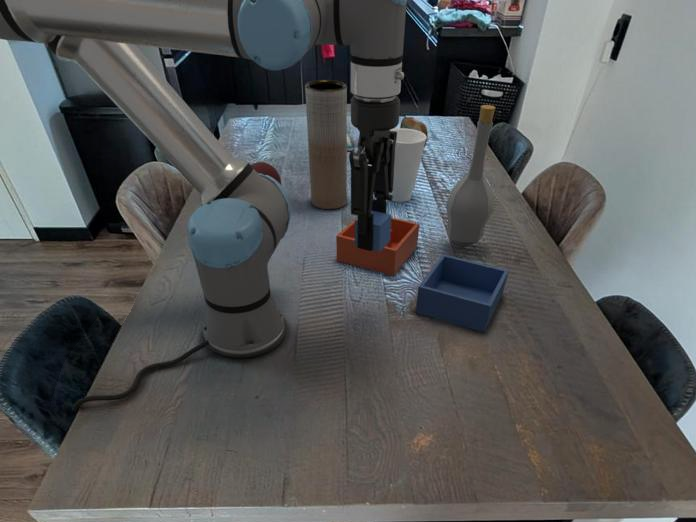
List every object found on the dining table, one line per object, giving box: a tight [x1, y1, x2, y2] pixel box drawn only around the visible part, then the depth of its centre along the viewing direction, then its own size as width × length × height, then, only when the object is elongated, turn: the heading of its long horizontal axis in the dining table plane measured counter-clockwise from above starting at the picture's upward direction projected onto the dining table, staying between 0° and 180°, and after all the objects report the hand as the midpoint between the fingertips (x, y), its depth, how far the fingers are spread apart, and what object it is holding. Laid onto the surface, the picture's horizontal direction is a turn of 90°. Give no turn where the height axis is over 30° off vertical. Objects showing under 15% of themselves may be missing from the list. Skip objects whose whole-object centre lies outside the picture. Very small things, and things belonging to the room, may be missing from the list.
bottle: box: [445, 104, 496, 248], centre depth 106 cm, size 11×11×30 cm
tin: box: [399, 116, 429, 149], centre depth 162 cm, size 15×3×8 cm, turn 25°
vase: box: [304, 79, 348, 210], centre depth 123 cm, size 10×10×28 cm
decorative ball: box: [250, 161, 282, 186], centre depth 129 cm, size 10×10×10 cm
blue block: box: [355, 210, 392, 252], centre depth 87 cm, size 5×5×5 cm
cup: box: [389, 127, 428, 203], centre depth 131 cm, size 12×12×16 cm
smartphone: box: [347, 133, 354, 152], centre depth 165 cm, size 7×1×15 cm
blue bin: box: [414, 253, 510, 333], centre depth 98 cm, size 15×15×6 cm
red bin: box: [335, 216, 420, 277], centre depth 111 cm, size 15×15×6 cm
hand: (371, 241), depth 88 cm, fingers closed on blue block, 5 cm apart
